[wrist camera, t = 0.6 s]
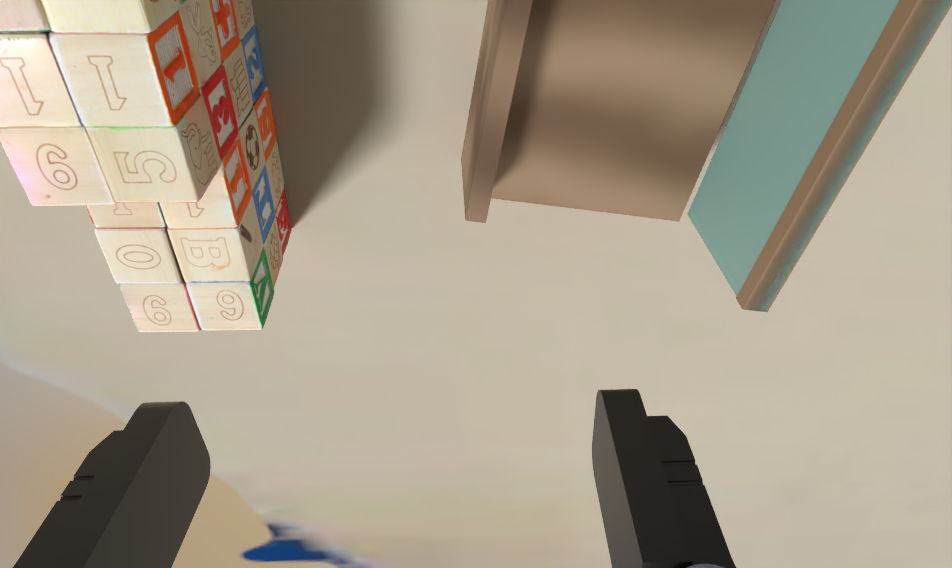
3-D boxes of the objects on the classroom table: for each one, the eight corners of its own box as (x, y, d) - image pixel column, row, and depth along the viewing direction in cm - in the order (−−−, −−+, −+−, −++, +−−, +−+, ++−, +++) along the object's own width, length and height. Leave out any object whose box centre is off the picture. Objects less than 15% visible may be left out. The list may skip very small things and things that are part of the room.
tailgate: (914, -307, 21) (1115, -349, 15) (945, -299, 21) (1156, -336, 15) (685, 214, 34) (742, 309, 28) (706, 216, 34) (767, 312, 28)
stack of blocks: (296, 230, 38) (249, 378, 29) (191, 230, 38) (107, 380, 28) (217, -217, 25) (80, -223, 15) (55, -224, 25) (-190, -234, 15)
